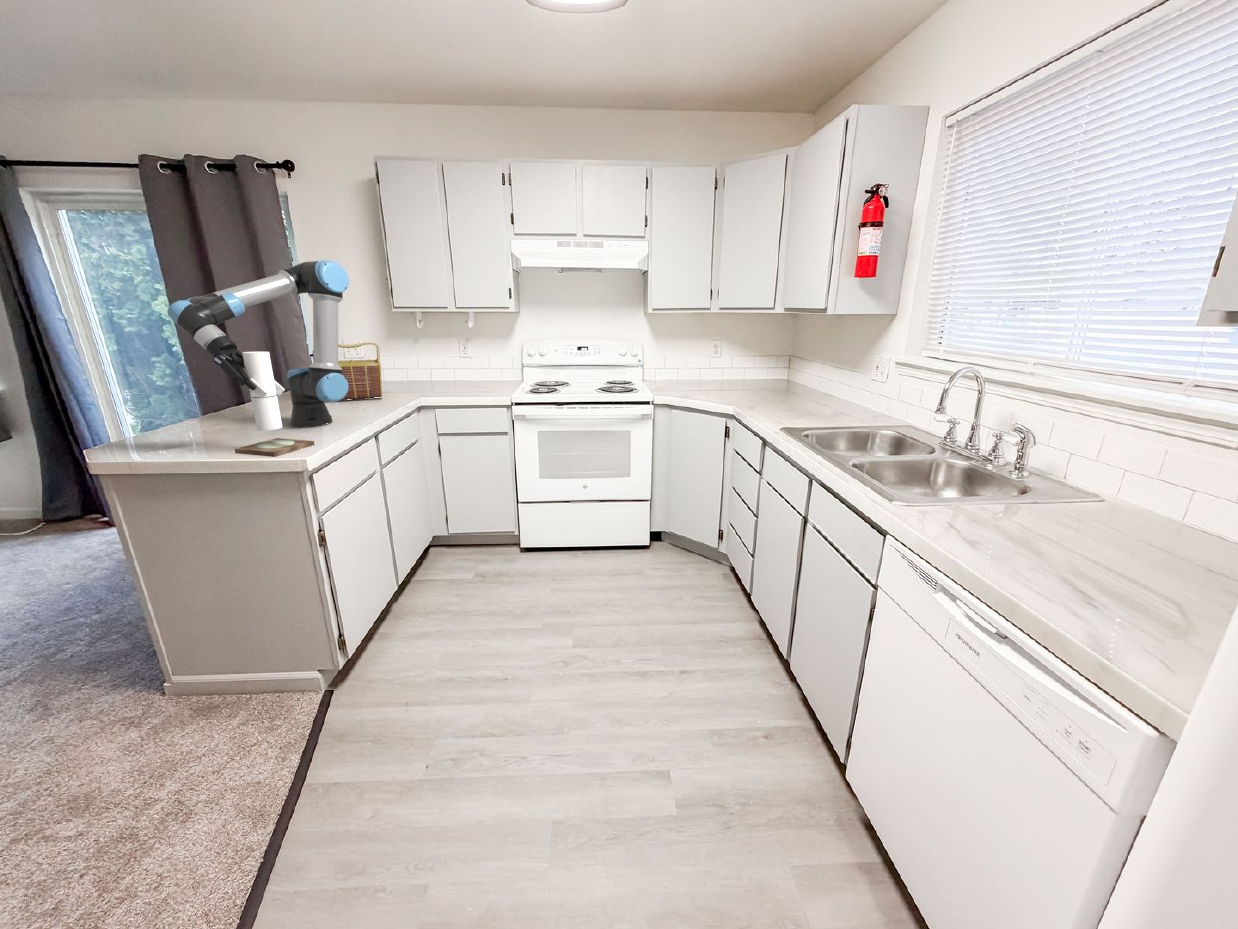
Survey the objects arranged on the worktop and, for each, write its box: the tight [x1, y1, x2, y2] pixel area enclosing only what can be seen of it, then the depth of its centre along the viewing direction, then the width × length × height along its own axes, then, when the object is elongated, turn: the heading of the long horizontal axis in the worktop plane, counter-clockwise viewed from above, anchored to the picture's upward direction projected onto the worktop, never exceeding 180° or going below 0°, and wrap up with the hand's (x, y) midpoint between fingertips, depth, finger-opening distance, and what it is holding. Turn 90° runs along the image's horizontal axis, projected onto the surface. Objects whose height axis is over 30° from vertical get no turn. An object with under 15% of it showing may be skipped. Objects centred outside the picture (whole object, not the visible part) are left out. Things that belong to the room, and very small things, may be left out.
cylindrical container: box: [241, 351, 283, 431], centre depth 165 cm, size 7×7×25 cm
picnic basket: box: [338, 342, 383, 401], centre depth 270 cm, size 29×26×30 cm
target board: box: [234, 437, 315, 458], centre depth 171 cm, size 16×16×2 cm
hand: (273, 394), depth 165 cm, fingers closed on cylindrical container, 7 cm apart
